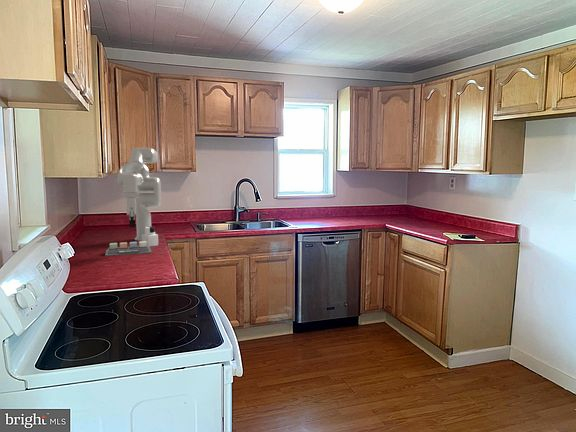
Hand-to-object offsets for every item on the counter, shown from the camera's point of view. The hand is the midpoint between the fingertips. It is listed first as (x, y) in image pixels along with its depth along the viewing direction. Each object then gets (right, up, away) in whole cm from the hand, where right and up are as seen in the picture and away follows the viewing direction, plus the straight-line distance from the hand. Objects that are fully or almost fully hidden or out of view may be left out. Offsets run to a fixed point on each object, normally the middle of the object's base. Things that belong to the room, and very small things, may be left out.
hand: (132, 226), depth 245 cm
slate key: (0, -12, +2) cm, 12 cm away
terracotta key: (-5, -12, 0) cm, 13 cm away
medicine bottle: (+4, -13, +20) cm, 24 cm away
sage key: (-10, -13, -2) cm, 16 cm away
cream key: (+5, -12, +4) cm, 13 cm away
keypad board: (-3, -15, +1) cm, 15 cm away
